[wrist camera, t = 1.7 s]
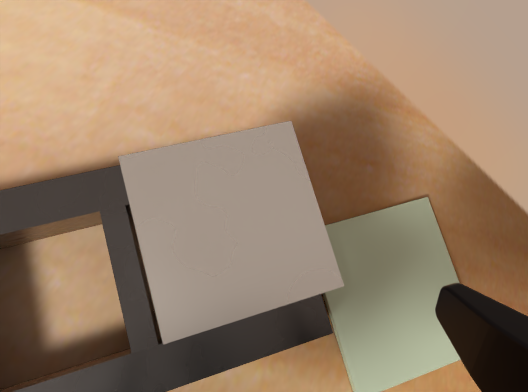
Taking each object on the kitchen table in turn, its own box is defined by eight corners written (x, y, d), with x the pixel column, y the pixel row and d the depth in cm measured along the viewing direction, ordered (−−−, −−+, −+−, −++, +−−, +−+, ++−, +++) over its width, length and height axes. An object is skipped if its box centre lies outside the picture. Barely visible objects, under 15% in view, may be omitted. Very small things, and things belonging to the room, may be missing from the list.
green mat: (478, 349, 21) (484, 349, 21) (355, 398, 19) (358, 400, 19) (423, 198, 22) (427, 196, 22) (303, 232, 21) (305, 230, 20)
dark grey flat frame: (314, 328, 20) (332, 332, 17) (-32, 447, 16) (-68, 473, 14) (260, 151, 21) (271, 133, 19) (-66, 223, 18) (-104, 212, 15)
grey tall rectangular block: (264, 291, 20) (344, 286, 10) (171, 320, 19) (163, 344, 9) (239, 203, 20) (291, 120, 11) (148, 225, 19) (118, 156, 10)
